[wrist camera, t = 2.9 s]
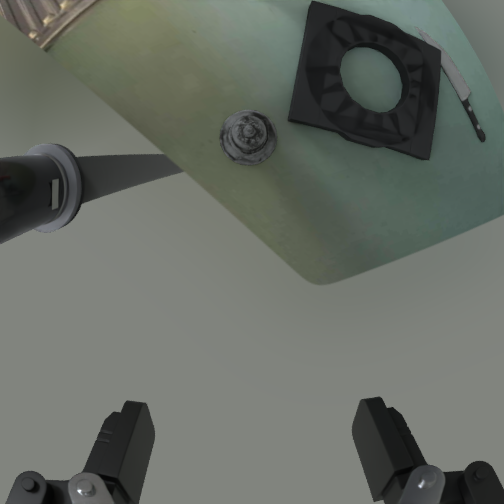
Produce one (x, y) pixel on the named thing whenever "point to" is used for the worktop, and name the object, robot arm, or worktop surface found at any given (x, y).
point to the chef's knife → (455, 81)
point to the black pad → (337, 98)
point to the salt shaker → (248, 137)
